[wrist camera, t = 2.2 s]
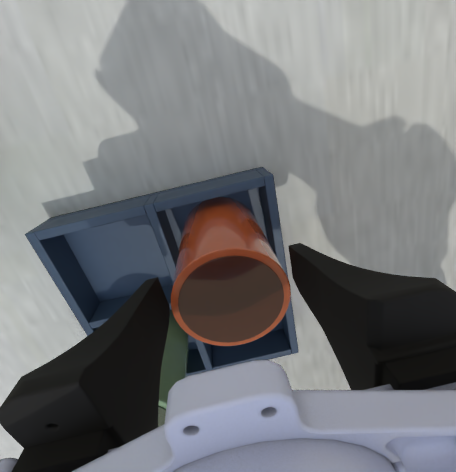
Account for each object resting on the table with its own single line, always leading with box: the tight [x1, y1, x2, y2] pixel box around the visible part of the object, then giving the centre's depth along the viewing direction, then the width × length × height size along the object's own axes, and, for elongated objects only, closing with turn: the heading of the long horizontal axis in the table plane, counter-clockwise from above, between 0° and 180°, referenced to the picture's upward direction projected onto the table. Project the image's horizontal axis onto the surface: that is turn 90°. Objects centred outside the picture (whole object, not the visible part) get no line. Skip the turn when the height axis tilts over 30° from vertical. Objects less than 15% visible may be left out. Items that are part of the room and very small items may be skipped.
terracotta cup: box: [171, 197, 291, 346], centre depth 15 cm, size 6×6×8 cm
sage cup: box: [158, 310, 189, 427], centre depth 19 cm, size 6×6×8 cm
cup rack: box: [25, 167, 298, 377], centre depth 20 cm, size 15×15×3 cm
